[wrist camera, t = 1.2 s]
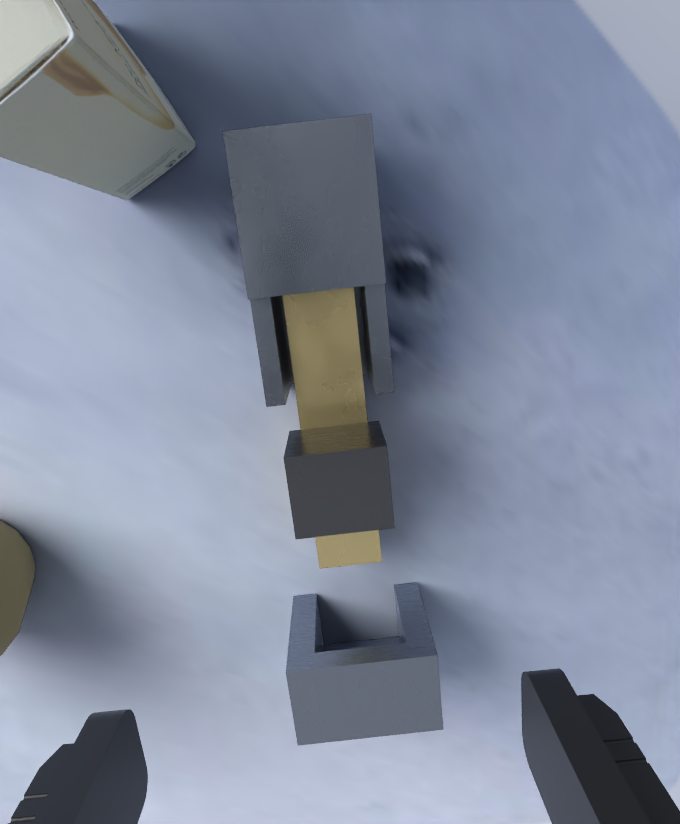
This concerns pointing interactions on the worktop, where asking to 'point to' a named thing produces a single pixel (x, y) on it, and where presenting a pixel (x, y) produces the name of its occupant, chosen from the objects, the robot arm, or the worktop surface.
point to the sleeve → (310, 234)
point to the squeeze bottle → (13, 582)
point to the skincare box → (82, 99)
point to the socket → (363, 676)
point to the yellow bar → (334, 434)
